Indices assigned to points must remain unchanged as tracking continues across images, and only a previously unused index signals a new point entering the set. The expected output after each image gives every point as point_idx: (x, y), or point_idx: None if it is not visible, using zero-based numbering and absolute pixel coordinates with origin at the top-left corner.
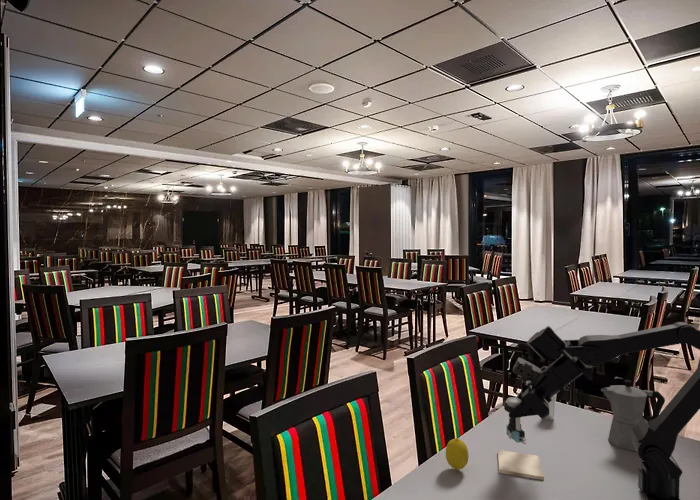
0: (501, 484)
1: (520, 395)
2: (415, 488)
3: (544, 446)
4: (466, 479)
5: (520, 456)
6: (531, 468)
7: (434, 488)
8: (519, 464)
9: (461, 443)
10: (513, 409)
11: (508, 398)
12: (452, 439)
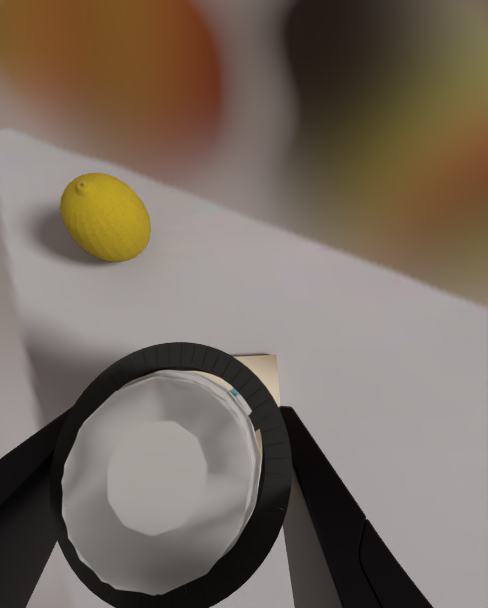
0: (82, 369)
1: (327, 587)
2: (18, 167)
3: (400, 532)
4: (86, 274)
5: (257, 433)
6: None
7: (26, 205)
8: None
9: (74, 208)
10: (21, 450)
11: (196, 397)
12: (96, 176)
